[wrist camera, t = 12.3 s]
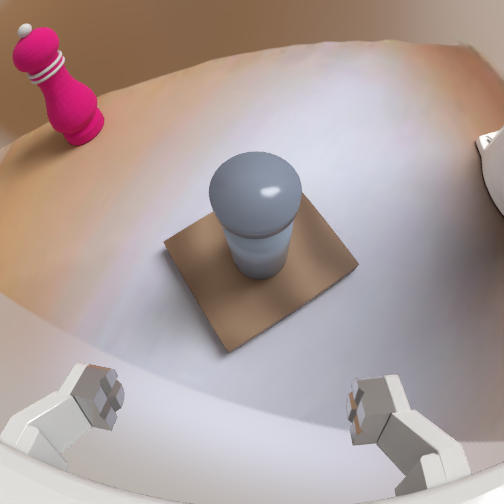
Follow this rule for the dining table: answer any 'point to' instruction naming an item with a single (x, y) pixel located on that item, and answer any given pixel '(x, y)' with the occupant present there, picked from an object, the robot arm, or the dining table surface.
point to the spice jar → (256, 210)
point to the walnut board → (253, 290)
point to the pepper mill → (58, 85)
